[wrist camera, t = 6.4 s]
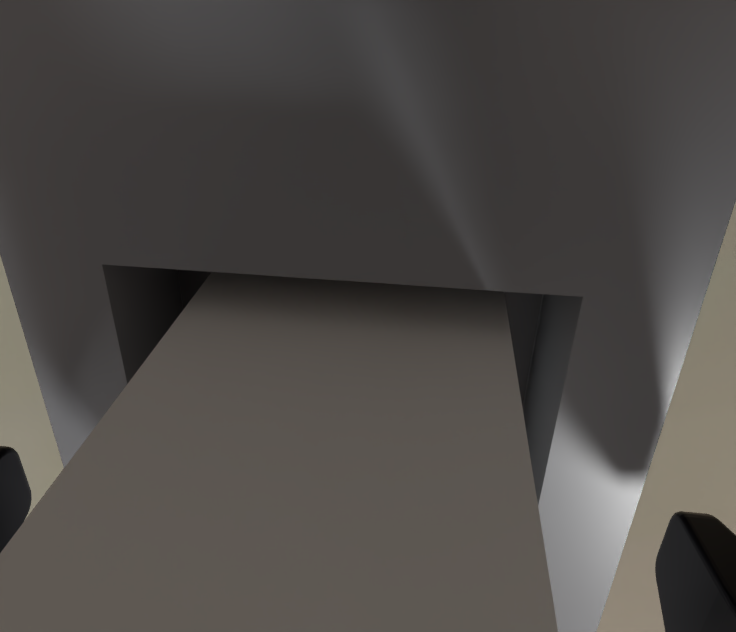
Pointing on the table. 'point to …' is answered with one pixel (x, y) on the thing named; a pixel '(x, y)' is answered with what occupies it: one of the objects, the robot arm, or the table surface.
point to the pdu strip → (384, 198)
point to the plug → (299, 475)
